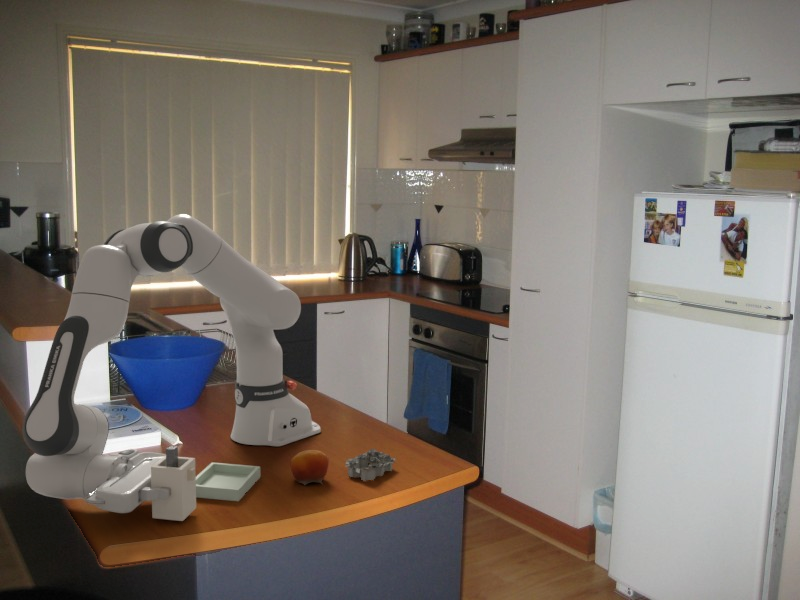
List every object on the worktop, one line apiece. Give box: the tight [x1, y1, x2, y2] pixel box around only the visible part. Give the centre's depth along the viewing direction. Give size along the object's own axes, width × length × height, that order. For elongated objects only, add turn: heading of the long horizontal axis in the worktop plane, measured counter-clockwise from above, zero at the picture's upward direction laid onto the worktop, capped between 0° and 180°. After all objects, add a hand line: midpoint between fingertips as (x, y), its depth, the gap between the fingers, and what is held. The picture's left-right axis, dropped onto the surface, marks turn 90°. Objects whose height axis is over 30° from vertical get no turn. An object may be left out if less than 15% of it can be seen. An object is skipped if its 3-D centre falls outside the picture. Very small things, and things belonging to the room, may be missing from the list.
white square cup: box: [151, 456, 197, 522], centre depth 150 cm, size 6×7×10 cm
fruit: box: [290, 449, 330, 486], centre depth 170 cm, size 8×8×8 cm
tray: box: [196, 462, 261, 502], centre depth 166 cm, size 13×11×2 cm
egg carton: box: [344, 448, 396, 482], centre depth 176 cm, size 11×8×4 cm
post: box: [165, 445, 179, 522], centre depth 150 cm, size 2×2×14 cm
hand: (178, 485), depth 150 cm, fingers closed on white square cup, 6 cm apart
